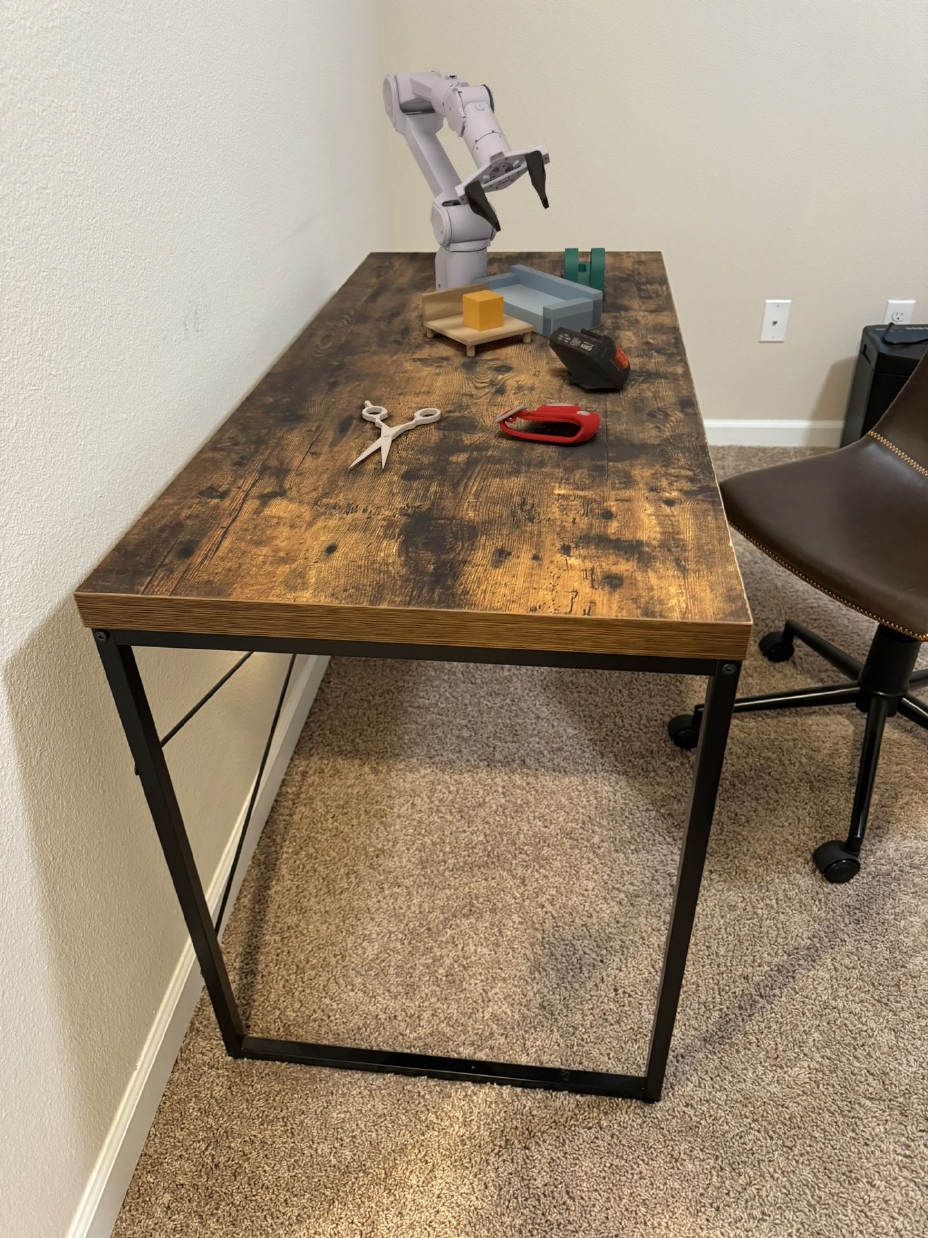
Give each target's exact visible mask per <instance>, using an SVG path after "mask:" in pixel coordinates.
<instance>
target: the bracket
mask: <svg viewBox="0 0 928 1238" xmlns="http://www.w3.org/2000/svg"><path fill="white" fill-rule="evenodd" d="M579 252H580V251H579V248H578V247H565V248H564V258H563V259H564V261H563V266H562V278H563V279H566V280H569V281H572V282H575V283H578V284H581V285H584V286H587V287H590V288H593V289H596V290H599V291H602V292H603V293H604V291H605V274H606V273H605V272H606V247H591V248H590V255H589V256H590V257H589V261H579V255H580V253H579ZM602 302H604V295H603V296H602Z"/></svg>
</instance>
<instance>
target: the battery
mask: <svg viewBox="0 0 928 1238" xmlns="http://www.w3.org/2000/svg"><path fill="white" fill-rule="evenodd" d="M548 347H549V348H550V349H551V350H552V351H553V352H554V354H555V355H556V357H557V358H558V359H559V361H560V363H562V365H564V367H565V368H566V369H567V371H568V372H569V373H570V374H571V375H572V377H570V378H568V380H569V381H571V382H572V383H574V384H575V385H577V386H579V387H580V388H582V389H583V390H587V391H588V390H595V389H621V388H622V387H624V386H625V385H626V383H627V381H628V378H629V374H630V373H631V369H632V368H631V367H632V366H631V364H630V360H629V359H628V358H627V356H626V354H625V352H624V351H623V350H622V348H621V347H620V346H619V345H618V344H617V343H616V341H615V340H614V339H613V338H612V337H611V336H610V335H608V334H604V335H602V334H601V333H600V334H599V333H597V332H594V331H592V330H590V329H589V330H586V329H584V328H582V329H581V332H577V331H574V330H571V329H568V328H565V327H562V326H560V327H559V328H558V330H556V331H553V332H552V334H551V335H550V338H549V340H548Z"/></svg>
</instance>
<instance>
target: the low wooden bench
mask: <svg viewBox="0 0 928 1238" xmlns="http://www.w3.org/2000/svg"><path fill="white" fill-rule="evenodd" d="M483 290H489V282H486V281H484V282H479V283H475V284H470V285H465V286H460V287H455V288H450V289H445V290H440V291H436V290H435V291H430V292H427V293H422V294H421V303H422V320H423V323H422V324H423V326H424V327H425V328H426V338H428V339H429V338H434V337H435V336H436V335H435V332H437V333H439V334H441V335H443V336H446V337H448V338H450V339H452V340H455V341H457V342H459V343H461V344H463V345H465V346H466V357H468V358H469V357H470V358H472V357H475V356H476V352H475V351H476V345H481V344H485V343H490V342H493V341H497V340H502V339H505V338H506V339H507V338H510V337H514V336H518V335H522V342H523V343H524V344H528V343H531V341H532V332H534V326H533V325H531V324H528V323H526V322H523V321H521V320H518V319H516V318H513V317H511V316H508V315H506V314H504V326H501V327H497V328H492V329H488V330H484V331H477V330H475V329H473V328H471V327H468V326H466V325H464V324H463V295H464V294H469V293H474V292H479V291H483Z"/></svg>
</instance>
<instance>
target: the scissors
mask: <svg viewBox="0 0 928 1238" xmlns="http://www.w3.org/2000/svg"><path fill="white" fill-rule="evenodd" d="M364 407H365V408H363V409H362V412H361V415H362V418H363V419H364V420H366V421H369V422H373V423H375V427H376V428H380V429H381V432H380V437H379V438H378V439H377V440H375V441H374V442H373V443H372V444H371V445H369V447H368V448H367V449H366V450H364V452H362V453H361V454H360V456H358V458H356V459H355V460H354V461H353V462H352V463H351V464H350V465H349V467H348V469H350V468H351V467H353V466H354V465H356V464H358V462H360V461H362V460H363V459H365V458H366V457H368V456H369V455H370V454H371V453H373V452H374V451H376V450H378V449H379V448H381V449H380V450H381V462H382V463H381V464H382V469H384V468H385V464H386V462H387V459H388V456H389V453H390V450H391V446H392V441H393V440H394V439H396V438H397V437H398V436H399V435H400V434H402V433H404V432H405V431H407V430H412V429H414V428H416V427H417V426H418V425H424V424H432V423H434V422H437V421H438V420H440V418H441V410H440V409H438V408H435V407H426V408H422V409H419V410H417V411H416V412H414V413H413V420H412V421H409V422H406V423H403V424H399V425H396V426H393V427H390V426H388V425H387V424H386V423H384V422H383V421H382V420H384V419H386V418H388V417H389V415H388V410H387V409H386V408H385V407H383V406H379V405H373V404H372V403H371V401H370V400H365V401H364ZM371 413H377V414H371ZM427 415H431V416H427Z"/></svg>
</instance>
